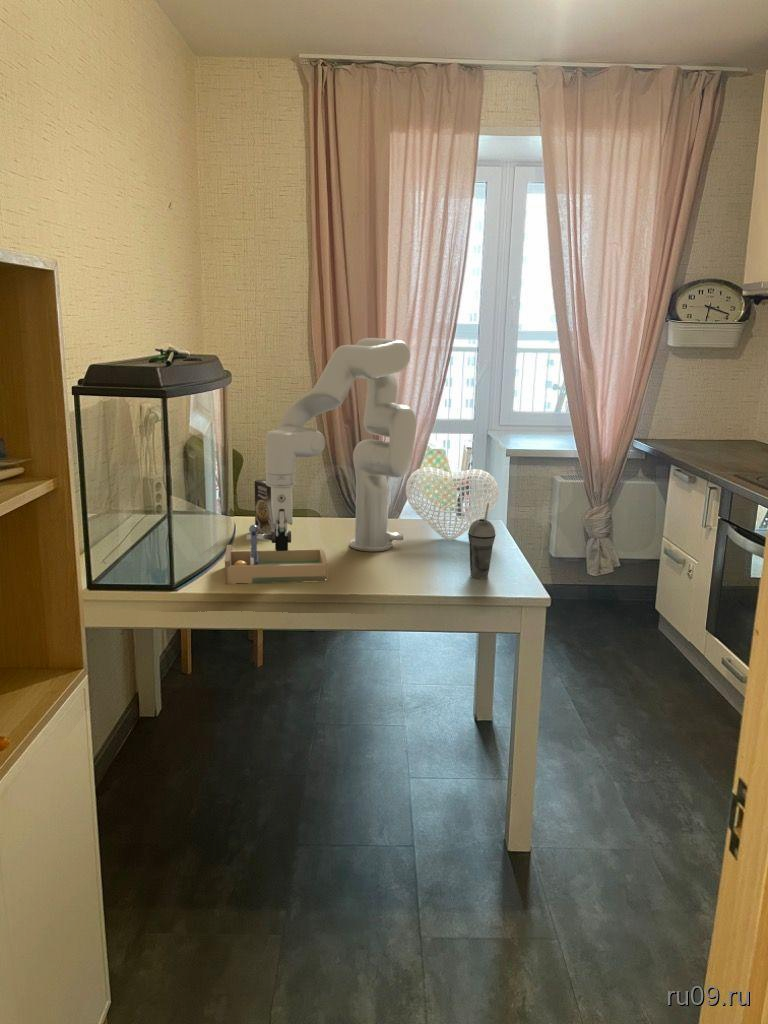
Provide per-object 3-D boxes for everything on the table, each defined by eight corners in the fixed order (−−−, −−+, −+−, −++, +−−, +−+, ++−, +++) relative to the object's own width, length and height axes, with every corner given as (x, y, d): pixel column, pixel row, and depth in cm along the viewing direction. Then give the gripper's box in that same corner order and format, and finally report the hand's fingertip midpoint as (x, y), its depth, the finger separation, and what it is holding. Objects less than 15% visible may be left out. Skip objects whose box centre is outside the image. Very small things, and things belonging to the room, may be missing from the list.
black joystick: (290, 562, 210) (290, 520, 207) (291, 570, 203) (291, 528, 200) (246, 563, 208) (246, 521, 205) (246, 571, 201) (245, 528, 199)
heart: (494, 535, 248) (498, 465, 242) (496, 549, 233) (501, 476, 227) (405, 530, 250) (408, 461, 245) (401, 544, 235) (404, 471, 230)
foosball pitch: (323, 564, 215) (323, 543, 214) (327, 581, 202) (328, 559, 200) (227, 566, 211) (226, 544, 210) (225, 584, 198) (224, 561, 196)
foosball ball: (250, 567, 207) (243, 556, 206) (249, 571, 203) (243, 560, 202) (238, 573, 207) (231, 562, 206) (237, 577, 203) (231, 566, 202)
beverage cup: (464, 571, 213) (468, 499, 208) (491, 572, 212) (496, 500, 207) (466, 580, 206) (470, 506, 201) (494, 581, 205) (499, 507, 200)
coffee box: (254, 531, 245) (253, 480, 241) (271, 527, 249) (270, 477, 245) (271, 537, 238) (270, 485, 234) (288, 534, 242) (288, 483, 238)
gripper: (297, 486, 193) (297, 556, 197) (294, 472, 209) (294, 537, 214) (266, 486, 191) (267, 557, 196) (265, 472, 208) (266, 537, 212)
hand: (281, 546), depth 205 cm, fingers open, 5 cm apart
